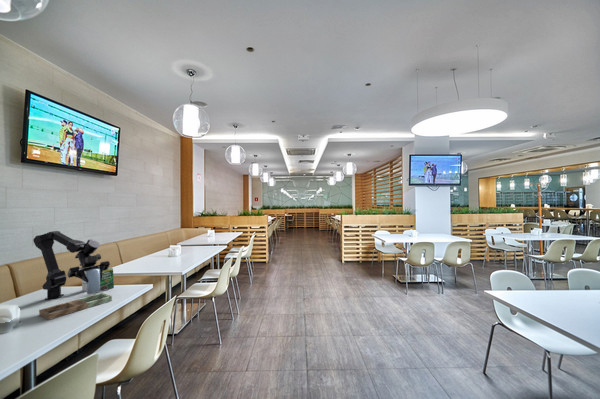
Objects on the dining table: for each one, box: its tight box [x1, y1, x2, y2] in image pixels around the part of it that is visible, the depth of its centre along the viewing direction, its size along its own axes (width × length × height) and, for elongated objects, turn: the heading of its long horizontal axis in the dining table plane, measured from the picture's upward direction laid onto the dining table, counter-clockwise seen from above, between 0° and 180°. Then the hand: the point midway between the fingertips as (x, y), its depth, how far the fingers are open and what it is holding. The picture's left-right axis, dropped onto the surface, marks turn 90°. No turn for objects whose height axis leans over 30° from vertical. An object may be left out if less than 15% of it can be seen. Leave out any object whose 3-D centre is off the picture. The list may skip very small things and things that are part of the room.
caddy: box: [38, 292, 113, 321], centre depth 140 cm, size 27×12×2 cm, turn 149°
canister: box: [86, 268, 101, 295], centre depth 146 cm, size 6×6×12 cm
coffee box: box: [99, 267, 115, 292], centre depth 168 cm, size 8×3×13 cm, turn 146°
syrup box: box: [81, 271, 87, 292], centre depth 169 cm, size 6×6×14 cm
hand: (94, 280), depth 145 cm, fingers closed on canister, 6 cm apart
